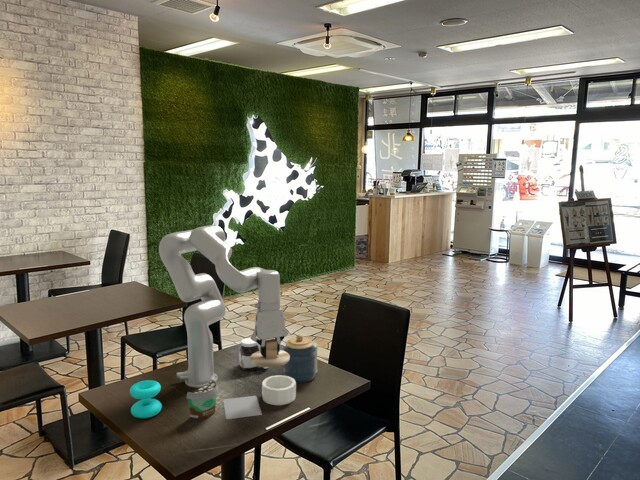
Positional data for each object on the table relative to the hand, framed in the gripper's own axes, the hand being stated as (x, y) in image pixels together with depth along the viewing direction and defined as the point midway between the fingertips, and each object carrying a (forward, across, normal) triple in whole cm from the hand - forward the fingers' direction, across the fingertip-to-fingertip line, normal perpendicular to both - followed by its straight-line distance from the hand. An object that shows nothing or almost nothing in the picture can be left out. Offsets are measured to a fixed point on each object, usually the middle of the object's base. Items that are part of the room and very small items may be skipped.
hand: (270, 354), depth 171 cm
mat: (+18, -11, -1) cm, 21 cm away
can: (+18, +22, +18) cm, 33 cm away
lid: (+2, 0, 0) cm, 2 cm away
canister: (+18, +17, +15) cm, 29 cm away
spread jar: (+18, +3, +30) cm, 35 cm away
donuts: (+17, -42, +10) cm, 46 cm away
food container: (+18, -23, -1) cm, 29 cm away
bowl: (+18, +4, +1) cm, 18 cm away
